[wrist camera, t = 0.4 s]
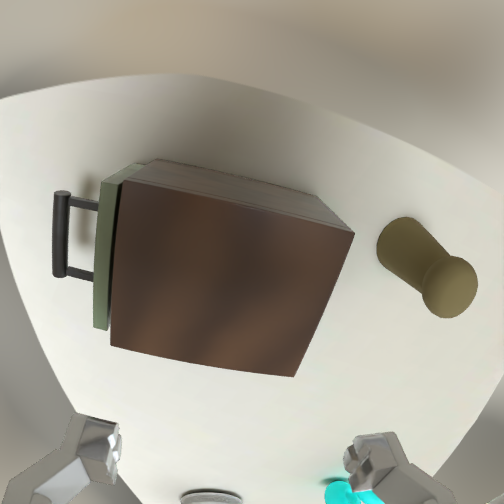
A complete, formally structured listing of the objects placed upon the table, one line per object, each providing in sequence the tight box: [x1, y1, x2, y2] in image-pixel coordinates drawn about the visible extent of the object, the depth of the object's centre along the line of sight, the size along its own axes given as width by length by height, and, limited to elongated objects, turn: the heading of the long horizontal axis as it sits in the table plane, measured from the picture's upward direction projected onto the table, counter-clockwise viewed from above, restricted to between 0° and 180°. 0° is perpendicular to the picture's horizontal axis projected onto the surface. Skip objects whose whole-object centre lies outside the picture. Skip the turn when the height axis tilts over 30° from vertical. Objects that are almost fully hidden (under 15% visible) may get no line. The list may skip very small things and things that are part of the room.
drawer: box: [52, 163, 146, 331], centre depth 25 cm, size 18×11×8 cm, turn 75°
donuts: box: [325, 481, 385, 504], centre depth 47 cm, size 10×10×10 cm
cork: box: [377, 217, 478, 318], centre depth 26 cm, size 6×6×11 cm
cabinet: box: [110, 159, 355, 377], centre depth 26 cm, size 15×13×10 cm
